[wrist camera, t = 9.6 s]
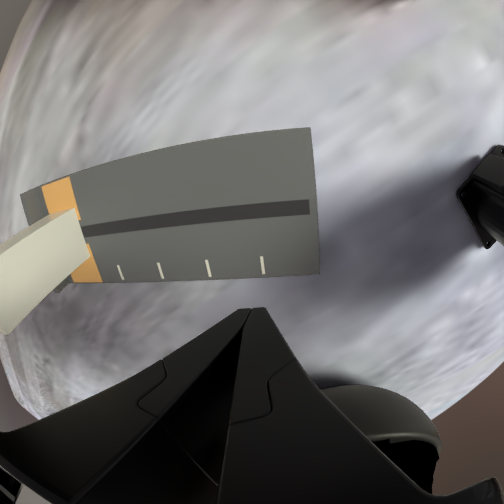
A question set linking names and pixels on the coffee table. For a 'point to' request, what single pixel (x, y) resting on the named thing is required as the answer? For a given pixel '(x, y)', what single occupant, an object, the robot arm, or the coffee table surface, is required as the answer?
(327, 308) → the coffee table surface
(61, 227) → the fader knob
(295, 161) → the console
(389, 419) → the bowl of black rocks
